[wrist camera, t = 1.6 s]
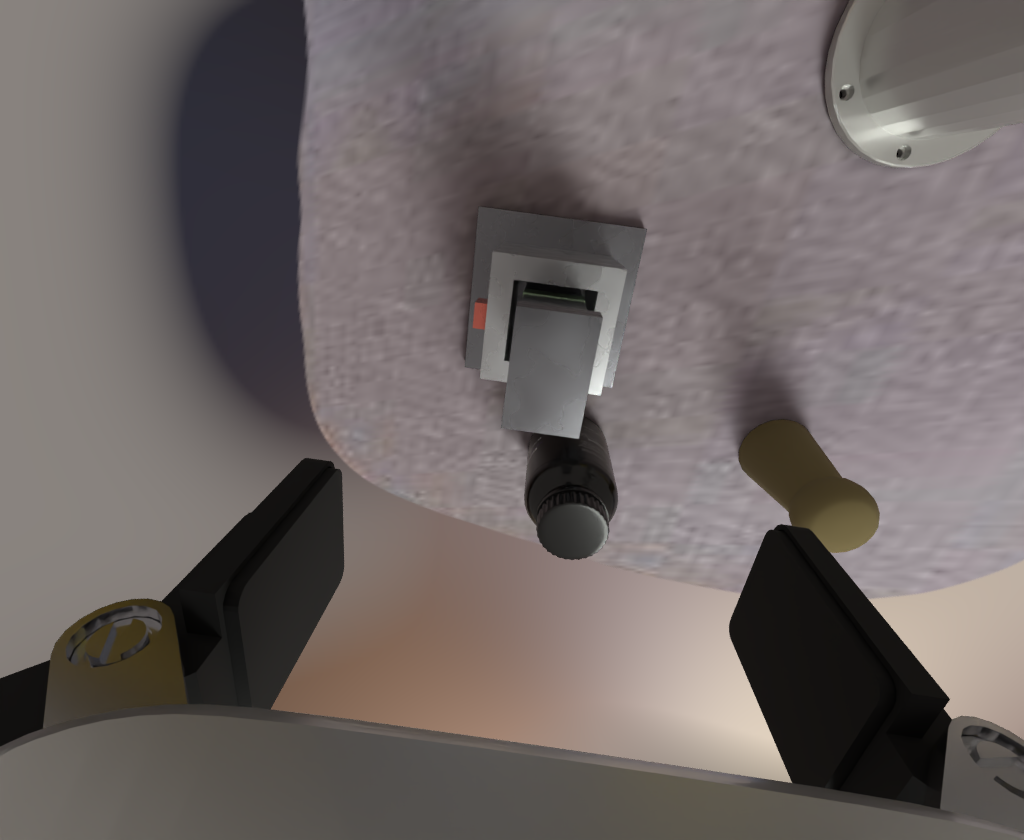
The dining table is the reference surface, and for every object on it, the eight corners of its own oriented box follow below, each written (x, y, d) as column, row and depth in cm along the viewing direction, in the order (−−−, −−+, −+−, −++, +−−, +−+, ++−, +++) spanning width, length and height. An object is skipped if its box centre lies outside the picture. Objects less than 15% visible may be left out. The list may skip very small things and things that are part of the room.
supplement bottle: (517, 425, 42) (505, 503, 31) (592, 401, 41) (608, 472, 30) (544, 489, 45) (542, 582, 34) (616, 468, 43) (638, 558, 32)
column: (530, 261, 35) (515, 305, 20) (580, 268, 35) (604, 318, 20) (520, 337, 38) (500, 427, 22) (567, 343, 38) (580, 439, 22)
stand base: (480, 206, 35) (459, 207, 27) (644, 228, 35) (673, 235, 27) (466, 363, 40) (445, 404, 32) (610, 383, 40) (626, 429, 32)
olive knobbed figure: (725, 470, 43) (779, 552, 33) (760, 410, 40) (830, 478, 30) (789, 490, 43) (861, 577, 33) (827, 432, 41) (918, 507, 30)
